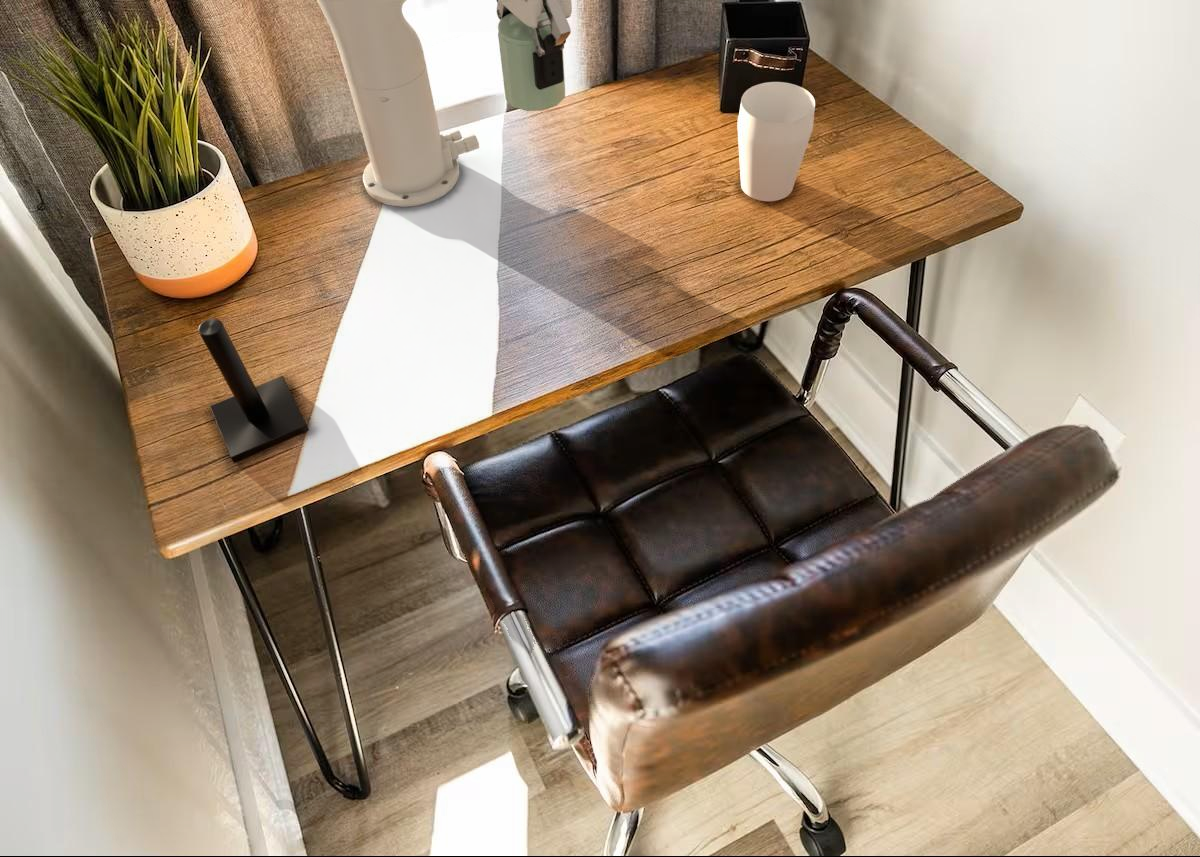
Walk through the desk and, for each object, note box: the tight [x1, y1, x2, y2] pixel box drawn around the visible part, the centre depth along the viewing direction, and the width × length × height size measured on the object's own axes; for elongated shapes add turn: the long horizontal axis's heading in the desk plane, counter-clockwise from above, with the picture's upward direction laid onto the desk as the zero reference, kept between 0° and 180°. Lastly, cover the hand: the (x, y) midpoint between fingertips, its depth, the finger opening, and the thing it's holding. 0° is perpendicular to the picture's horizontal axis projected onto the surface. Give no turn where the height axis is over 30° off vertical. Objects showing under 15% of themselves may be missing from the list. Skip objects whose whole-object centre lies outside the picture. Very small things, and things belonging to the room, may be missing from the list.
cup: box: [736, 81, 816, 202], centre depth 110 cm, size 9×9×12 cm
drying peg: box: [197, 318, 310, 464], centre depth 88 cm, size 8×8×14 cm
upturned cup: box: [497, 12, 566, 112], centre depth 96 cm, size 7×7×8 cm
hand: (533, 67), depth 97 cm, fingers closed on upturned cup, 6 cm apart
